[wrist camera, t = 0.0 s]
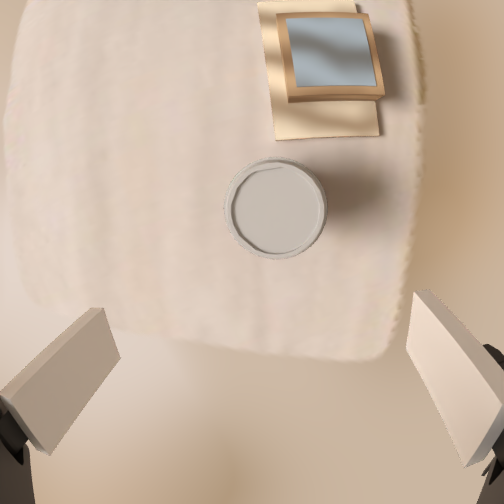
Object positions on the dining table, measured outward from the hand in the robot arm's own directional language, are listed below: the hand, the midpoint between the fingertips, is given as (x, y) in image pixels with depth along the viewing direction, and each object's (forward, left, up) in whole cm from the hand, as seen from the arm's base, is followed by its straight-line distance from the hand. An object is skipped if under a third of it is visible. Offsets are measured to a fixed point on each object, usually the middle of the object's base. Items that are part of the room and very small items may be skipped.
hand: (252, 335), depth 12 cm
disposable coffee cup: (-2, +1, -28) cm, 28 cm away
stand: (-19, +8, -28) cm, 35 cm away
